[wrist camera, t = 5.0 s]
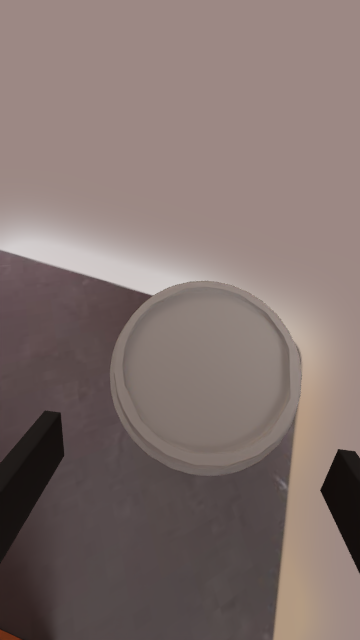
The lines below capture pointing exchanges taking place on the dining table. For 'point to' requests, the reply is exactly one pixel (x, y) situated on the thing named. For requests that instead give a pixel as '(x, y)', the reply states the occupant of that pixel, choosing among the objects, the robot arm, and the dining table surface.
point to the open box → (7, 636)
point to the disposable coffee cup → (205, 378)
